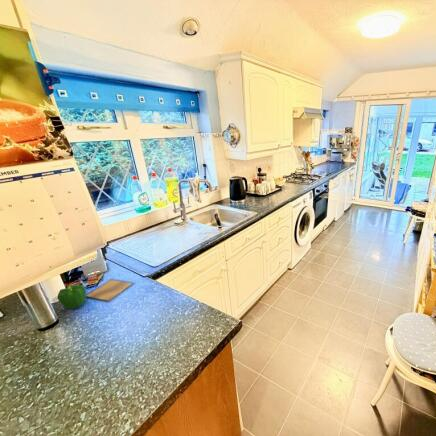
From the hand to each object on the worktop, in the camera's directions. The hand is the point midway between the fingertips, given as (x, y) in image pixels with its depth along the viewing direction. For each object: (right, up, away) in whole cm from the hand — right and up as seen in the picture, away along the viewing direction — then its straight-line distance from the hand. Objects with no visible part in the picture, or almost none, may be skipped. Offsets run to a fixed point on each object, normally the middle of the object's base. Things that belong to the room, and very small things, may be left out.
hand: (93, 263), depth 116 cm
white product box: (-2, -5, +4) cm, 7 cm away
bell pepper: (+9, -14, -19) cm, 25 cm away
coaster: (+16, -10, -10) cm, 21 cm away
